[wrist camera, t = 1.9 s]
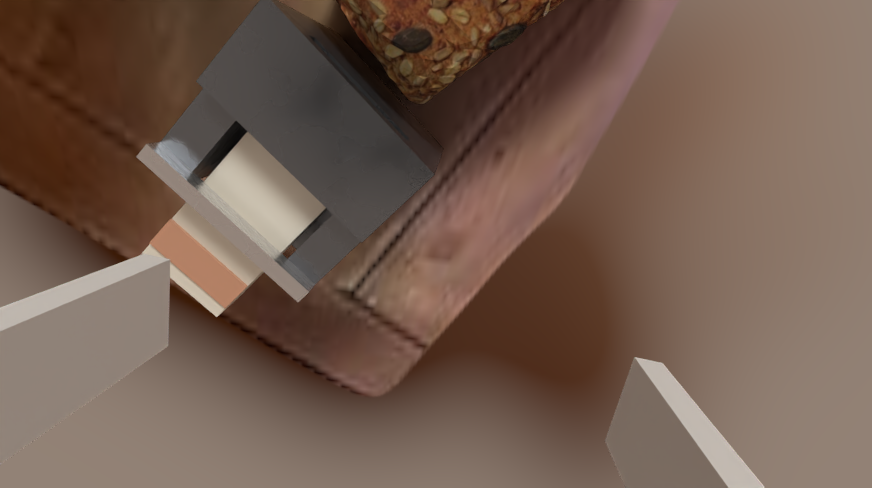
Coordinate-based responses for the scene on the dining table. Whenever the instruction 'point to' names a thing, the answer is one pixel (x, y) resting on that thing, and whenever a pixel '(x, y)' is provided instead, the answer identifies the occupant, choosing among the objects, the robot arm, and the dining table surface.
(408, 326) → the dining table surface
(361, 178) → the dispenser
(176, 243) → the ticket
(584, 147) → the dining table surface
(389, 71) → the bread
